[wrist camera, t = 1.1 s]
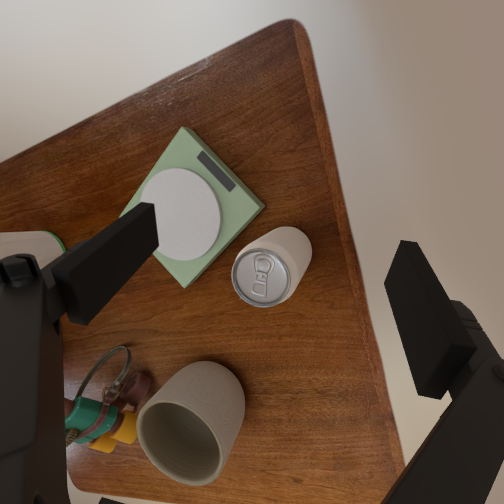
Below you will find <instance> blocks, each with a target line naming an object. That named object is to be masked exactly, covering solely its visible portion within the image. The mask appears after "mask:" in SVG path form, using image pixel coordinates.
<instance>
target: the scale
mask: <svg viewBox="0 0 504 504" xmlns="http://www.w3.org/2000/svg"><path fill="white" fill-rule="evenodd" d="M140 202H147V203H154V206H155V214H156V223H157V231H158V240H159V247H158V248H157V249H156V250H155V251H154V252H153V255H154V256H155V257H156V258H157V259H158V260H159V261H160V262H161V263H162V264H163V265H164V267H165V268H166V269H167V270H168V271H169V272H170V273H171V274H172V275H173V276H174V277H175V279H176V280H177V281H178V282H179V283H180V284H181V285H182V286H183V287H184V288H186V287H187V286H189V285H191V284H192V283H193V282H194V281H195V280H196V279H197V278H198V277H199V276H200V275H201V274H202V273H203V272H204V271H205V270H206V269H207V268H208V267H209V266H210V264H211V263H212V262H213V261H214V260H215V259H216V258H217V257H218V256H219V255H220V254H221V253H222V252H223V251H224V250H225V249H226V248H227V246H228V245H229V244H230V243H231V242H232V241H233V240H234V239H235V238H236V237H237V236H238V235H239V234H240V233H241V232H242V231H243V230H244V228H245V227H246V226H247V225H248V224H249V223H250V222H251V221H252V220H253V219H254V218H255V217H256V216H257V215H258V214H259V213H260V212H261V210H262V209H263V208H264V207H265V205H264V204H263V203H262V202H261V201H260V200H259V199H258V198H257V197H256V196H255V195H254V194H253V193H252V192H251V191H250V189H249V188H248V187H247V186H246V185H245V184H244V183H243V182H242V181H241V180H240V179H239V178H238V177H237V176H236V175H235V174H234V173H233V172H232V171H231V170H230V169H229V168H228V167H227V166H226V165H225V164H224V162H223V161H222V160H221V159H220V158H219V157H218V156H217V155H216V154H215V153H214V152H213V151H212V150H211V149H210V148H209V147H208V146H207V145H206V144H205V143H204V142H203V141H202V140H201V139H200V138H199V136H198V135H197V134H196V133H195V132H194V131H193V130H192V129H189V128H186V127H183V126H182V127H181V128H180V130H179V131H178V133H177V134H176V136H175V137H174V138H173V140H172V141H171V143H170V144H169V146H168V147H167V149H166V150H165V151H164V153H163V154H162V156H161V157H160V159H159V160H158V162H157V163H156V164H155V166H154V167H153V169H152V170H151V172H150V173H149V175H148V176H147V178H146V179H145V180H144V182H143V183H142V185H141V186H140V188H139V189H138V191H137V192H136V193H135V195H134V196H133V198H132V199H131V201H130V202H129V204H128V205H127V206H126V208H125V209H124V211H123V212H122V214H121V215H120V217H121V216H123V215H124V214H125V213H127V212H128V211H129V210H131V209H132V208H133V207H135V206H136V205H137V204H139V203H140Z"/></svg>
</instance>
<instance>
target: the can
mask: <svg viewBox="0 0 504 504" xmlns="http://www.w3.org/2000/svg"><path fill="white" fill-rule="evenodd" d="M311 257H312V247H311V243H310V241H309V239H308V238H307V236H306V235H305V234H304V233H303V232H302V231H300V230H299V229H297V228H294V227H279V228H276V229H274V230H272V231H270V232H268V233H267V234H265V235H263V236H262V237H260V238H258V239H257V240H255V241H253V242H252V243H250V244H248V245H247V246H246V247H244V248H243V249H242V250H241V251H240V253H239V254H238V256H237V258H236V260H235V263H234V265H233V268H232V283H233V286H234V288H235V290H236V292H237V293H238V295H239V296H240V297H241V298H242V299H243V300H244V301H245V302H247V303H249V304H251V305H253V306H256V307H262V308H266V307H272V306H275V305H277V304H279V303H281V302H283V301H285V300H286V299H288V298H289V297H290V296H291V295H292V293H293V292H294V291H295V289H296V287H297V285H298V284H299V282H300V280H301V278H302V276H303V275H304V273H305V271H306V269H307V267H308V265H309V263H310V261H311Z"/></svg>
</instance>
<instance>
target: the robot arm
mask: <svg viewBox="0 0 504 504" xmlns="http://www.w3.org/2000/svg"><path fill="white" fill-rule="evenodd" d="M158 247H159V240H158V231H157V223H156V214H155V206H154V203H147V202H140V203H139V204H137V205H136V206H135V207H133V208H132V209H131V210H129V211H128V212H127V213H125V214H124V215H123V216H121V217H120V218H119V219H117V220H116V221H114V222H113V223H112V224H110V225H109V226H108V227H106V228H105V229H104V230H102V231H101V232H100V233H98V234H97V235H96V236H94V237H93V238H91V239H90V240H89V239H87V240H85V241H82V242H80V243H77V244H75V245H74V246H73V247H71V248H70V249H68V251H66V252H64V253H63V254H61V256H59V257H57V258H56V259H54V260H53V261H52V262H50V263H49V264H47V265H46V266H45V267H43V268H42V269H40V268H39V265H38V263H37V260H36V258H35V256H34V255H32V254H26V253H22V254H14V255H11V256H7V257H5V258H2V259H0V504H71V503H70V499H69V495H68V489H67V466H66V435H65V405H64V374H63V344H62V323H61V321H60V317H61V316H62V315H63V314H64V313H65V312H67V315H68V318H69V321H70V322H72V323H76V324H81V325H86V326H87V325H88V324H89V323H90V322H91V320H92V319H93V318H94V317H95V316H96V315H97V314H98V313H99V312H100V311H101V309H102V308H103V307H104V306H105V305H106V304H107V303H108V302H109V301H110V300H111V298H112V297H113V296H114V295H115V294H116V293H117V292H118V291H119V290H120V289H121V287H122V286H123V285H124V284H125V283H126V282H127V281H128V280H129V279H130V278H131V276H132V275H133V274H134V273H135V272H136V271H137V270H138V269H139V268H140V267H141V265H142V264H143V263H144V262H145V261H146V260H147V259H148V258H149V257H150V256H151V254H152V253H153V252H154V251H155V250H156V249H157V248H158ZM384 285H385V289H386V292H387V295H388V298H389V302H390V305H391V308H392V311H393V315H394V318H395V321H396V325H397V328H398V331H399V334H400V338H401V341H402V344H403V348H404V351H405V354H406V357H407V361H408V364H409V367H410V371H411V374H412V377H413V380H414V384H415V387H416V390H417V393H418V395H420V396H425V397H429V398H434V399H439V400H441V399H442V397H443V396H444V394H445V393H446V392H447V390H448V391H449V393H450V396H451V398H452V402H451V403H450V404H449V406H448V407H447V409H446V410H445V411H444V412H443V414H442V415H441V416H440V419H439V420H438V422H437V423H436V425H435V426H434V427H433V429H432V430H431V432H430V433H429V435H428V436H427V438H426V439H425V440H424V442H423V443H422V445H421V446H420V448H419V449H418V450H417V452H416V453H415V455H414V456H413V458H412V459H411V461H410V462H409V463H408V465H407V466H406V468H405V469H404V471H403V472H402V473H401V475H400V476H399V478H398V479H397V481H396V482H395V484H394V485H393V486H392V488H391V489H390V491H389V492H388V494H387V495H386V497H385V498H384V499H383V501H382V502H381V504H485V501H486V499H487V497H488V495H489V492H490V490H491V488H492V485H493V483H494V481H495V479H496V476H497V474H498V472H499V469H500V467H501V464H502V462H503V460H504V360H503V359H501V357H500V356H499V354H498V353H497V351H496V349H495V348H494V346H493V345H492V343H491V341H490V340H489V338H488V337H487V335H486V334H485V332H484V331H482V330H483V329H482V327H481V326H480V324H479V323H477V320H476V318H475V316H474V315H473V313H472V312H471V310H470V309H468V308H467V307H466V306H465V305H464V304H463V303H462V302H460V301H455V300H450V299H449V297H448V296H447V294H446V292H445V290H444V289H443V287H442V285H441V283H440V282H439V280H438V278H437V276H436V275H435V273H434V271H433V269H432V268H431V266H430V264H429V262H428V261H427V259H426V257H425V255H424V254H423V252H422V250H421V248H420V247H419V245H418V243H417V242H411V241H404V240H401V241H400V244H399V247H398V249H397V251H396V254H395V257H394V259H393V262H392V264H391V267H390V269H389V272H388V274H387V277H386V279H385V282H384ZM99 504H124V503H120V502H117V501H113V500H110V499H107V498H103V497H102V498H101V500H100V502H99Z"/></svg>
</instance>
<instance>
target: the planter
mask: <svg viewBox="0 0 504 504" xmlns="http://www.w3.org/2000/svg"><path fill="white" fill-rule="evenodd" d="M244 414H245V396H244V392H243V389H242V386H241V384H240V383H239V381H238V379H237V378H236V377H235V375H234V374H233V373H232V372H231V371H230V370H228V369H227V368H226V367H224V366H222V365H220V364H218V363H215V362H211V361H199V362H194V363H191V364H189V365H187V366H185V367H183V368H182V369H181V370H179V371H178V372H177V373H176V374H174V375H173V376H172V377H171V378H170V379H169V380H168V381H167V382H166V383H165V384H164V385H163V386H162V388H161V389H160V390H159V391H158V392H157V393H156V394H155V395H154V396H153V397H152V398H151V399H150V400H149V401H148V402H147V403H146V404H145V405H144V406H143V408H142V409H141V410H140V412H139V415H138V418H137V425H136V427H137V435H138V439H139V442H140V444H141V447H142V449H143V450H144V452H145V454H146V455H147V457H148V458H149V460H150V461H151V462H152V463H153V464H154V465H155V466H156V467H157V468H158V469H159V470H160V471H161V472H162V473H164V474H165V475H167V476H168V477H170V478H171V479H173V480H175V481H177V482H180V483H183V484H186V485H192V486H201V485H206V484H209V483H211V482H213V481H214V480H215V479H216V478H217V477H218V476H219V475H220V473H221V471H222V470H223V467H224V465H225V463H226V461H227V458H228V456H229V454H230V451H231V449H232V447H233V445H234V442H235V440H236V438H237V435H238V433H239V430H240V428H241V425H242V422H243V418H244Z"/></svg>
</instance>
